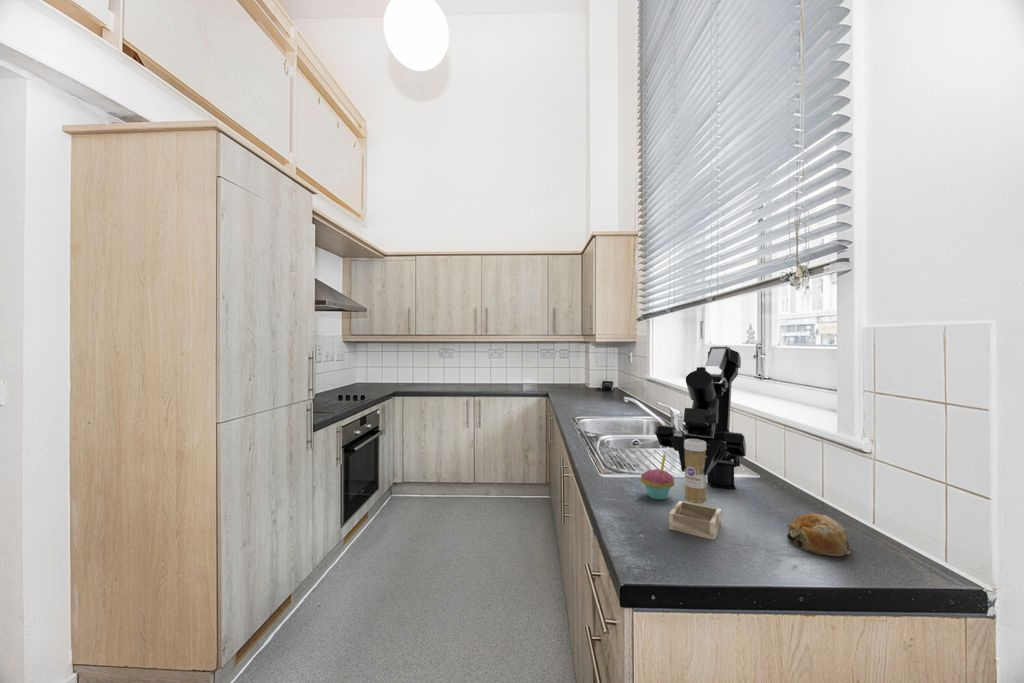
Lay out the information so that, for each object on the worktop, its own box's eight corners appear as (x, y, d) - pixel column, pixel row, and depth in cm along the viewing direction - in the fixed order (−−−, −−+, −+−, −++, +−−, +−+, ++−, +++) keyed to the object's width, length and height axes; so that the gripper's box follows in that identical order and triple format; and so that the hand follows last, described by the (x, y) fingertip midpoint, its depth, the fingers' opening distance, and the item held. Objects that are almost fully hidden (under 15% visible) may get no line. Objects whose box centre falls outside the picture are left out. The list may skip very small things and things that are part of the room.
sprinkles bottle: (682, 501, 94) (681, 441, 94) (687, 495, 98) (686, 437, 98) (704, 505, 92) (703, 443, 92) (708, 499, 95) (708, 439, 95)
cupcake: (669, 491, 117) (669, 448, 117) (678, 503, 109) (678, 456, 109) (638, 490, 118) (637, 447, 118) (644, 502, 110) (644, 455, 110)
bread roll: (841, 579, 80) (864, 546, 78) (782, 544, 85) (803, 512, 83) (835, 557, 88) (855, 526, 87) (782, 526, 93) (800, 496, 92)
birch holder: (679, 515, 101) (679, 500, 101) (721, 524, 96) (721, 509, 96) (669, 529, 94) (669, 513, 94) (714, 540, 89) (713, 523, 89)
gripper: (657, 391, 103) (643, 446, 94) (743, 396, 93) (737, 459, 84) (666, 418, 110) (654, 472, 101) (748, 426, 99) (742, 487, 90)
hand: (693, 472), depth 94 cm, fingers closed on sprinkles bottle, 4 cm apart
